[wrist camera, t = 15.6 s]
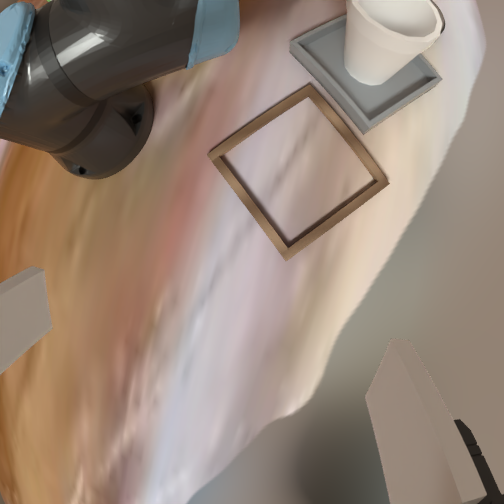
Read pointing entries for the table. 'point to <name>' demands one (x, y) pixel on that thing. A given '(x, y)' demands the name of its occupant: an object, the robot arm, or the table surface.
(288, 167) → the table surface
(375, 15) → the foam cup
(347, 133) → the square wooden frame
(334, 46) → the tray
